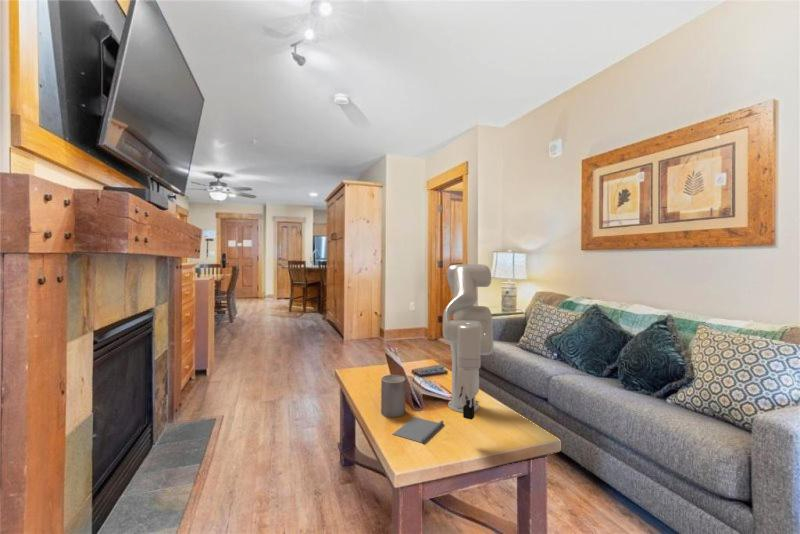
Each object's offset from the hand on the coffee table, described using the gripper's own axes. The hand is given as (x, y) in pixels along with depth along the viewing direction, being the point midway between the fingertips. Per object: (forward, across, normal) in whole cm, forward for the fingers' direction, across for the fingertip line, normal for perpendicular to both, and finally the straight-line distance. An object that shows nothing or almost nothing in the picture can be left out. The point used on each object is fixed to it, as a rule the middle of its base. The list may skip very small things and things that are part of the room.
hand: (468, 417), depth 116 cm
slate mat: (+8, 0, -18) cm, 20 cm away
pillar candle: (+9, -8, -34) cm, 36 cm away
